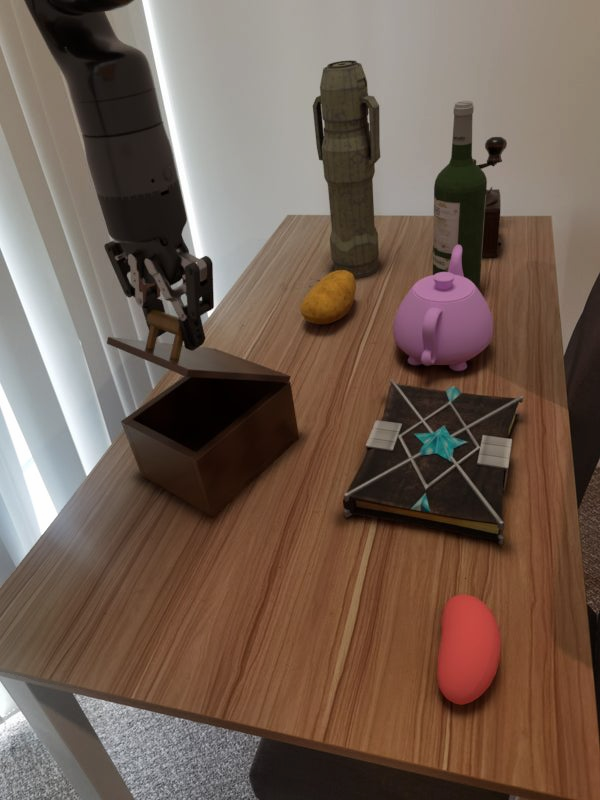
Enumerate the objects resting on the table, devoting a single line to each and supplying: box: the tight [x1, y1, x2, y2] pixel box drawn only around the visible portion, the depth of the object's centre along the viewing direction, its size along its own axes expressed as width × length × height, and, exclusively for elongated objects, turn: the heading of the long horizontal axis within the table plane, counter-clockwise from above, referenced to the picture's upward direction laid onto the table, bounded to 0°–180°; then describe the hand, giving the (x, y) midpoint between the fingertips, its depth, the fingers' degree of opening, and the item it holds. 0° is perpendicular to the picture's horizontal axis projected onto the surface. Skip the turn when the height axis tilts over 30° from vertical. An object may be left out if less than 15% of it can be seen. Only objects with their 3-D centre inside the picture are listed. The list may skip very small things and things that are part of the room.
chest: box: [120, 376, 300, 518], centre depth 74 cm, size 16×13×9 cm
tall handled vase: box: [312, 59, 381, 280], centre depth 105 cm, size 9×12×35 cm
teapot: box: [392, 245, 494, 372], centre depth 86 cm, size 20×14×12 cm
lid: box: [106, 310, 291, 382], centre depth 68 cm, size 17×13×5 cm
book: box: [342, 379, 524, 546], centre depth 70 cm, size 22×17×5 cm
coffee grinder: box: [473, 136, 508, 259], centre depth 113 cm, size 16×11×18 cm
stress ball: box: [436, 593, 502, 706], centre depth 51 cm, size 5×9×6 cm, turn 153°
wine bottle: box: [432, 100, 488, 291], centre depth 94 cm, size 8×8×30 cm
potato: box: [299, 270, 357, 325], centre depth 100 cm, size 8×14×7 cm, turn 152°
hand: (177, 339), depth 65 cm, fingers closed on lid, 5 cm apart
